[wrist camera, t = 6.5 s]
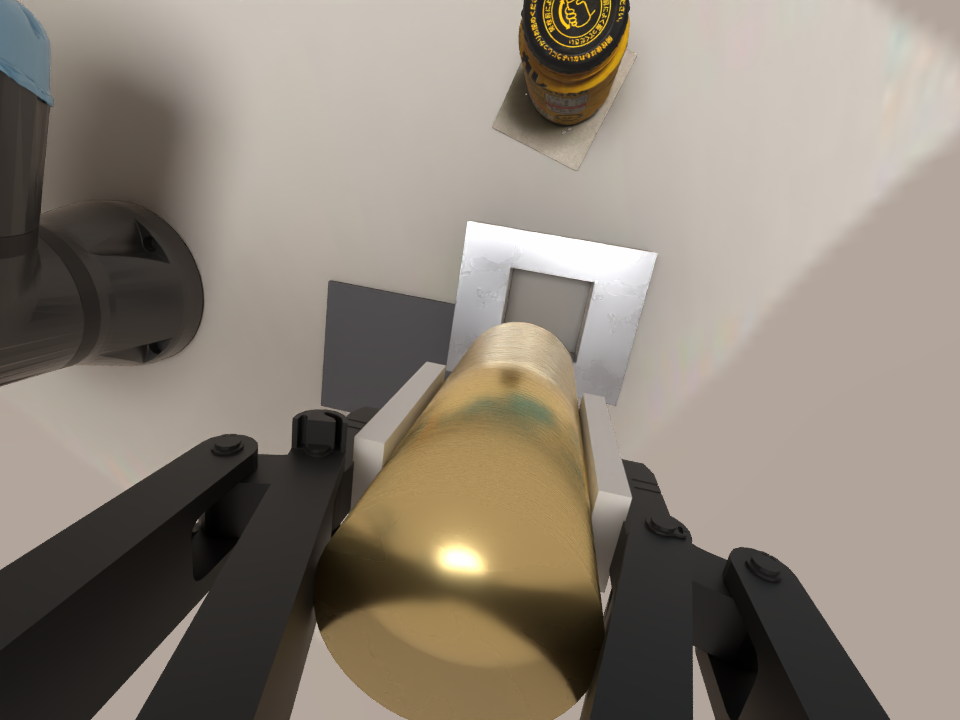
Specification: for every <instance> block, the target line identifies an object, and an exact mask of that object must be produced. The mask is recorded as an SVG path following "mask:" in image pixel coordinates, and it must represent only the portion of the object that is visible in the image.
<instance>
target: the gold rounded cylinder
mask: <svg viewBox="0 0 960 720" xmlns="http://www.w3.org/2000/svg"><path fill="white" fill-rule="evenodd" d="M313 606H314V611H315V617H316V621H317V624H318V627H319V630H320V633H321V636H322V638H323V640H324V642H325V644H326V646H327V648H328V650H329V651H330V653H331V655H332V656H333V658H334V660H335V661H336V663H337V664H338V665H339V666H340V668H341V669H342V670H343V671H344V673H345V674H346V675H347V676H348V677H349V678H350V679H351V680H352V681H353V682H354V683H355V684H356V685H357V686H358V687H359V688H360V689H361V690H362V691H364V692H365V693H366V694H367V695H368V696H370V697H371V698H372V699H373V700H375V701H377V702H378V703H379V704H381V705H382V706H384V707H385V708H387V709H389V710H390V711H392V712H394V713H396V714H397V715H399V716H401V717H404V718H406V719H408V720H553V719H555V718H557V717H558V716H560V715H562V714H563V713H565V712H566V711H567V710H568V709H570V708H571V707H572V706H573V705H575V704H576V703H577V702H578V701H579V699H580V698H581V697H582V696H583V695H584V694H585V693H586V691H587V690H588V688H589V686H590V683H591V680H592V676H593V673H594V670H595V667H596V663H597V660H598V657H599V653H600V650H601V647H602V644H603V640H604V637H605V628H604V619H603V612H602V603H601V594H600V586H599V577H598V569H597V560H596V552H595V543H594V535H593V526H592V518H591V510H590V501H589V493H588V484H587V476H586V467H585V459H584V450H583V442H582V434H581V425H580V417H579V408H578V400H577V391H576V383H575V374H574V367H573V363H572V360H571V357H570V355H569V353H568V351H567V349H566V348H565V346H564V345H563V344H562V343H561V341H560V340H559V339H558V338H557V337H556V336H554V335H553V334H552V333H550V332H549V331H547V330H546V329H544V328H542V327H539V326H537V325H534V324H530V323H524V322H509V323H503V324H500V325H497V326H494V327H492V328H490V329H488V330H487V331H485V332H484V333H482V334H481V335H480V336H479V337H478V338H477V339H476V340H475V341H474V342H473V343H472V345H471V346H470V347H469V349H468V350H467V352H466V353H465V354H464V356H463V357H462V358H461V360H460V361H459V363H458V364H457V365H456V367H455V368H454V369H453V371H452V372H451V374H450V375H449V376H448V378H447V379H446V381H445V382H444V383H443V385H442V386H441V387H440V389H439V390H438V392H437V393H436V394H435V396H434V397H433V398H432V400H431V401H430V403H429V404H428V405H427V407H426V408H425V410H424V411H423V412H422V414H421V415H420V416H419V418H418V419H417V421H416V422H415V423H414V425H413V426H412V427H411V429H410V430H409V432H408V433H407V434H406V436H405V437H404V439H403V440H402V441H401V443H400V444H399V445H398V447H397V448H396V450H395V451H394V452H393V454H392V455H391V456H390V458H389V459H388V461H387V462H386V463H385V465H384V466H383V468H382V469H381V470H380V472H379V473H378V474H377V476H376V477H375V479H374V480H373V481H372V483H371V484H370V485H369V487H368V488H367V490H366V491H365V492H364V494H363V495H362V497H361V498H360V499H359V501H358V502H357V503H356V505H355V506H354V508H353V509H352V510H351V512H350V513H349V514H348V516H347V517H346V519H345V520H344V521H343V523H342V524H341V526H340V527H339V528H338V530H337V531H336V532H335V534H334V535H333V537H332V538H331V539H330V541H329V542H328V544H327V545H326V547H325V549H324V551H323V553H322V555H321V557H320V559H319V561H318V565H317V568H316V571H315V587H314V604H313Z"/></svg>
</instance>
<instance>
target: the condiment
mask: <svg viewBox="0 0 960 720" xmlns="http://www.w3.org/2000/svg"><path fill="white" fill-rule="evenodd" d="M629 10H630V3H629V0H524V5H523V10H522V12H521V16H522V20H521V23H520V27H519V50H520V55H521V60H522V62H521V64H520V66H519V68H518V70H517V73H516V75H515V77H514V79H513V81H512V84H511V86H510V89H509V91H508V93H507V95H506V98H505V100H504V102H503V104H502V106H501V108H500V111H499V113H498V115H497V117H496V119H495V122H494V124H493V126H492V127H493V128H495V129H497V130H498V131H501V132H502V133H504V134H506V135H508V136H510V137H512V138H514V139H516V140H518V141H520V142H521V143H523V144H525V145H527V146H529V147H531V148H533V149H535V150H537V151H539V152H540V153H542V154H544V155H546V156H548V157H551V158H552V159H554V160H556V161H558V162H560V163H562V164H564V165H566V166H568V167H570V168H572V169H574V170H576V171H577V170H578V168H579V166H580V164H581V162H582V161H583V159H584V157H585V155H586V153H587V151H588V149H589V147H590V145H591V143H592V141H593V139H594V137H595V135H596V134H597V132H598V130H599V128H600V126H601V124H602V122H603V120H604V118H605V116H606V114H607V112H608V110H609V109H610V107H611V105H612V103H613V101H614V99H615V97H616V95H617V93H618V91H619V89H620V87H621V85H622V83H623V81H624V80H625V78H626V76H627V74H628V72H629V70H630V68H631V66H632V64H633V62H634V60H635V58H636V56H637V54H636V53H634V52H632V51H630V50H628V49H626V47H627V42H628V37H629V26H630V23H629V15H628V12H629ZM526 93H527V95H525V94H526ZM568 128H572V130H570V131H568ZM563 131H567V132H566V133H565V134H562V132H563Z"/></svg>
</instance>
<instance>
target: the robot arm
mask: <svg viewBox="0 0 960 720" xmlns="http://www.w3.org/2000/svg"><path fill="white" fill-rule="evenodd" d="M50 52H51V50H50V42H49V38H48V36H47V33H46V31H45V29H44V28H43V26H42V24H41V23H40V22H39V20H38V19H37V18H36V17H35V16H34V15H33V14H32V13H31V12H30V11H29V10H28V9H27V8H26V7H25V6H24V5H22V4H21V3H20V2H18V1H17V0H0V386H4V385H7V384H11V383H14V382H17V381H21V380H24V379H28V378H31V377H34V376H38V375H41V374H44V373H48V372H51V371H55V370H58V369H61V368H65V367H69V366H73V365H109V366H137V365H144V364H149V363H152V362H155V361H158V360H161V359H164V358H167V357H170V356H172V355H174V354H176V353H178V352H179V351H180V350H182V349H183V348H184V347H185V346H186V345H187V344H188V343H189V342H190V340H191V339H192V338H193V336H194V334H195V332H196V330H197V328H198V325H199V322H200V319H201V314H202V305H203V296H202V287H201V281H200V277H199V273H198V270H197V267H196V265H195V262H194V260H193V258H192V256H191V254H190V252H189V250H188V249H187V247H186V245H185V244H184V242H183V241H182V240H181V238H180V237H179V236H178V234H177V233H176V232H175V231H174V230H173V229H172V228H171V227H170V226H169V225H168V224H167V223H166V222H165V221H164V220H162V219H161V218H160V217H158V216H157V215H155V214H154V213H152V212H151V211H149V210H147V209H145V208H143V207H140V206H138V205H135V204H132V203H128V202H122V201H107V200H88V201H80V202H76V203H73V204H70V205H67V206H64V207H60V208H57V209H54V210H51V211H48V212H45V213H42V214H40V213H41V199H42V186H43V176H44V165H45V155H46V144H47V134H48V124H49V113H50V107H53V106H54V100H53V98H52V96H51V95H50ZM445 369H446V365H441V364H436V363H431V362H426V363H425V364H424V365H423V366H422V367H421V368H420V369H419V370H418V371H417V372H416V373H415V374H414V375H413V376H412V377H411V378H410V379H409V381H408V382H407V383H406V384H405V385H404V386H403V387H402V388H401V389H400V390H399V391H398V392H397V393H396V394H395V395H394V396H393V397H392V398H391V399H390V400H389V401H388V402H387V403H386V404H385V406H384V407H383V408H382V409H377V408H372V407H367V406H365V407H362V408H359V409H357V410H354V411H352V412H351V413H350V414H349V415H348V416H347V417H345V416H344V415H343V414H341V413H338V412H336V411H331V410H309V411H304V412H302V413H299V414H297V415H296V416H295V417H293V421H292V448H291V450H290V452H289V453H288V455H264V454H258V443H257V442H256V441H255V440H254V439H253V438H251V437H248V436H245V435H237V434H230V435H229V434H225V435H221V436H217V437H213V438H210V439H208V440H206V441H204V442H202V443H200V444H199V445H197V446H195V447H194V448H192V449H191V450H189V451H188V452H186V453H184V454H183V455H181V456H180V457H178V458H176V459H175V460H173V461H172V462H170V463H169V464H167V465H165V466H164V467H162V468H161V469H159V470H158V471H156V472H154V473H153V474H151V475H150V476H148V477H146V478H145V479H143V480H142V481H140V482H139V483H137V484H135V485H134V486H132V487H131V488H129V489H127V490H126V491H124V492H123V493H121V494H120V495H118V496H116V497H115V498H113V499H112V500H110V501H109V502H107V503H105V504H104V505H102V506H101V507H99V508H97V509H96V510H94V511H93V512H91V513H90V514H88V515H86V516H85V517H83V518H82V519H80V520H78V521H77V522H75V523H74V524H72V525H71V526H69V527H68V528H66V529H64V530H63V531H61V532H60V533H58V534H56V535H55V536H53V537H52V538H50V539H48V540H47V541H45V542H44V543H42V544H41V545H39V546H37V547H36V548H34V549H33V550H31V551H30V552H28V553H26V554H25V555H23V556H22V557H20V558H19V559H17V560H15V561H14V562H12V563H11V564H9V565H7V566H6V567H4V568H3V569H1V570H0V720H91V719H92V717H93V716H94V715H95V714H96V713H97V712H98V711H99V710H100V709H101V708H102V706H104V705H105V703H106V702H107V701H108V700H109V699H110V698H111V697H112V696H113V695H114V694H115V693H116V691H118V689H119V688H120V687H121V686H122V685H123V684H124V683H125V682H126V681H127V680H128V679H129V677H130V676H131V675H132V674H133V673H134V672H135V671H136V670H137V669H138V668H139V666H141V664H142V663H143V662H144V661H145V660H146V659H147V658H148V657H149V656H150V655H151V654H152V652H153V651H154V650H155V649H156V648H157V647H158V646H159V645H160V644H161V643H162V641H163V640H164V639H165V638H166V637H167V636H168V635H169V634H170V633H171V632H172V631H173V630H174V628H175V627H176V626H177V625H178V624H179V623H180V622H181V621H182V620H183V619H184V618H185V617H186V616H187V614H188V613H189V612H190V611H191V610H192V609H193V608H194V607H195V606H196V605H197V604H198V602H199V601H200V600H201V599H202V598H203V597H204V596H205V595H206V594H207V593H208V592H209V593H208V594H207V596H206V598H205V600H204V601H203V603H202V605H201V606H200V608H199V610H198V612H197V614H196V615H195V617H194V619H193V621H192V622H191V624H190V626H189V627H188V629H187V631H186V633H185V634H184V636H183V638H182V639H181V641H180V643H179V645H178V647H177V648H176V650H175V652H174V653H173V655H172V657H171V659H170V660H169V662H168V664H167V666H166V667H165V669H164V671H163V673H162V674H161V676H160V678H159V680H158V681H157V683H156V685H155V686H154V688H153V690H152V692H151V693H150V695H149V697H148V699H147V700H146V702H145V704H144V706H143V708H142V709H141V711H140V713H139V714H138V716H137V718H136V720H289V719H290V716H291V713H292V709H293V705H294V702H295V698H296V694H297V691H298V687H299V683H300V680H301V676H302V673H303V669H304V665H305V661H306V658H307V654H308V651H309V647H310V643H311V640H312V636H313V633H314V629H315V625H316V622H317V621H316V617H315V611H314V606H313V604H314V587H315V571H316V568H317V565H318V561H319V559H320V557H321V555H322V553H323V551H324V549H325V547H326V545H327V544H328V542H329V541H330V539H331V538H332V537H333V535H334V534H335V532H336V531H337V530H338V528H339V527H340V523H341V522H342V521H343V519H344V518H345V517H346V515H347V514H349V513H350V512H351V510H352V509H353V508H354V506H355V505H356V503H357V502H358V501H359V499H360V498H361V497H362V495H363V494H364V492H365V491H366V490H367V488H368V487H369V485H370V484H371V483H372V481H373V480H374V479H375V477H376V476H377V474H378V473H379V472H380V470H381V469H382V468H383V466H384V465H385V463H386V462H387V461H388V459H389V458H390V456H391V455H392V454H393V452H394V451H395V450H396V448H397V447H398V445H399V444H400V443H401V441H402V440H403V439H404V437H405V436H406V434H407V433H408V432H409V430H410V429H411V427H412V426H413V425H414V423H415V422H416V421H417V419H418V418H419V416H420V415H421V414H422V412H423V411H424V410H425V408H426V407H427V405H428V404H429V403H430V401H431V400H432V398H433V397H434V396H435V394H436V393H437V392H438V390H439V389H440V387H441V386H442V385H443V383H444V377H445ZM579 417H580V425H581V434H582V442H583V450H584V459H585V467H586V476H587V484H588V493H589V501H590V510H591V518H592V526H593V535H594V543H595V552H596V560H597V569H598V577H599V586H600V592H605V589H606V586H607V582H608V578H609V575H610V579H611V585H612V589H611V592H610V595H609V599H608V602H607V606H606V609H605V612H604V616H603V619H604V628H605V637H604V640H603V644H602V647H601V650H600V653H599V657H598V660H597V663H596V667H595V670H594V673H593V676H592V680H591V683H590V686H589V688H588V690H587V691H586V695H585V700H584V704H583V708H582V713H581V717H580V720H693V663H692V662H693V660H692V659H693V656H692V655H693V651H692V650H693V646H695V652H696V656H697V660H698V663H699V666H700V670H701V673H702V676H703V679H704V683H705V686H706V689H707V693H708V696H709V700H710V703H711V706H712V710H713V713H714V716H715V720H890V718H889V717H888V715H887V714H886V712H885V711H884V709H883V708H882V706H881V705H880V703H879V702H878V700H877V699H876V697H875V695H874V694H873V692H872V691H871V689H870V688H869V686H868V685H867V683H866V682H865V680H864V679H863V677H862V676H861V674H860V673H859V671H858V670H857V668H856V667H855V665H854V664H853V662H852V661H851V659H850V658H849V656H848V654H847V653H846V651H845V650H844V648H843V647H842V645H841V644H840V642H839V641H838V639H837V638H836V636H835V635H834V633H833V632H832V630H831V628H830V627H829V625H828V624H827V622H826V621H825V619H824V618H823V616H822V615H821V613H820V612H819V611H818V609H817V607H816V606H815V604H814V603H813V601H812V600H811V598H810V596H809V595H808V593H807V592H806V590H805V589H804V587H803V586H802V584H801V583H800V581H799V580H798V578H797V577H796V576H795V574H794V573H793V572H792V571H791V570H790V569H789V568H788V567H787V566H786V565H784V564H783V563H781V562H780V561H779V560H778V559H776V558H775V557H773V556H770V555H769V554H767V553H765V552H762V551H758V550H755V549H752V548H744V547H739V548H735V549H733V550H732V551H731V553H730V555H729V558H728V560H726V559H723V558H721V557H718V556H716V555H714V554H711V553H709V552H707V551H705V550H703V549H701V548H698V547H696V546H695V545H694V544H692V537H691V534H690V531H689V530H688V529H687V528H686V527H685V526H684V525H683V524H682V523H681V522H679V521H678V520H677V519H675V518H673V517H671V516H670V514H669V512H668V509H667V506H666V504H665V501H664V499H663V496H662V495H661V491H660V489H659V486H658V484H657V481H656V479H655V476H654V474H653V473H652V472H651V471H650V470H649V469H648V468H647V467H646V466H645V465H644V464H642V463H637V462H633V461H628V460H623V459H621V456H620V452H619V448H618V445H617V441H616V438H615V434H614V430H613V427H612V423H611V420H610V416H609V412H608V409H607V405H606V401H605V398H604V397H602V396H597V395H592V394H587V393H583V396H582V400H581V405H580V409H579ZM348 512H349V513H348ZM198 519H199V522H198V523H196V521H197V520H198Z"/></svg>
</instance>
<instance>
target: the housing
mask: <svg viewBox="0 0 960 720" xmlns="http://www.w3.org/2000/svg"><path fill="white" fill-rule="evenodd" d="M656 256H657V253H654V252H650V251H644V250H638V249H633V248H627V247H621V246H615V245H609V244H603V243H598V242H592V241H586V240H580V239H574V238H568V237H562V236H557V235H551V234H545V233H539V232H533V231H527V230H522V229H516V228H510V227H504V226H498V225H492V224H486V223H481V222H475V221H468V223H467V229H466V236H465V243H464V250H463V257H462V263H461V270H460V277H459V284H458V291H457V298H456V304H455V311H454V318H453V325H452V332H451V338H450V345H449V352H448V359H447V366H446V371H451V372H452V371H453V369H454V368H455V367H456V365H457V364H458V363H459V361H460V360H461V358H462V357H463V356H464V354H465V353H466V352H467V350H468V349H469V347H470V346H471V345H472V343H473V342H474V341H475V340H476V339H477V338H478V337H479V336H480V335H481V334H482V333H484V332H485V331H487V330H488V329H490V328H492V327H494V326H497V325H500V324H503V323H504V319H505V314H506V308H507V303H508V297H509V291H510V286H511V280H512V275H513V269H514V268H517V269H523V270H528V271H534V272H540V273H545V274H551V275H556V276H562V277H567V278H573V279H578V280H584V281H589V282H591V286H590V291H589V295H588V299H587V304H586V308H585V312H584V317H583V321H582V325H581V329H580V334H579V338H578V342H577V347H576V351H575V353H570V352H568V353H569V355H570V357H571V360H572V363H573V367H574V374H575V383H576V391H577V398H580V399H582V396H583V393H587V394H592V395H597V396H602V397H604V398H605V401H606V404H609V405H613V406H616V404H617V400H618V397H619V393H620V389H621V386H622V382H623V378H624V375H625V371H626V367H627V363H628V360H629V356H630V352H631V349H632V345H633V341H634V338H635V334H636V330H637V326H638V323H639V319H640V315H641V312H642V308H643V304H644V301H645V297H646V293H647V289H648V286H649V282H650V278H651V275H652V271H653V267H654V264H655V260H656Z"/></svg>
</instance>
